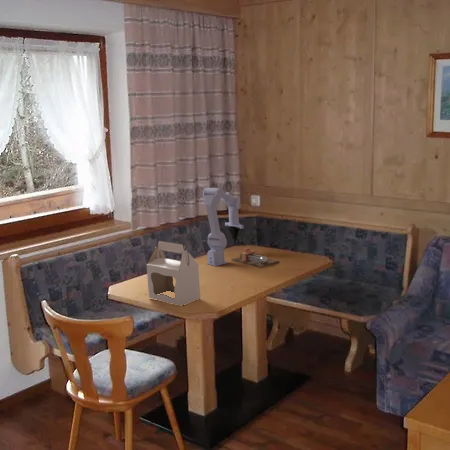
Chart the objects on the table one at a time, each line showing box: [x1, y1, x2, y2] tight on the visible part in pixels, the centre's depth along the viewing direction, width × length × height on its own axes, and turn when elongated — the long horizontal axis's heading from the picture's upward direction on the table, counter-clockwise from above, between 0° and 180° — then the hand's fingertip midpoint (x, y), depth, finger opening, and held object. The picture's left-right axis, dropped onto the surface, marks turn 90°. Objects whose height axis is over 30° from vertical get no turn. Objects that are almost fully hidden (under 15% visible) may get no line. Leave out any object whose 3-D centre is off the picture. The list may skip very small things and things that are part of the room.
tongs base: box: [240, 253, 268, 264], centre depth 369 cm, size 19×4×4 cm, turn 40°
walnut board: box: [231, 255, 280, 269], centre depth 372 cm, size 25×14×1 cm, turn 40°
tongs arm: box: [248, 253, 263, 257], centre depth 371 cm, size 14×2×3 cm, turn 41°
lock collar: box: [240, 246, 256, 261], centre depth 373 cm, size 3×8×6 cm, turn 130°
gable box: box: [146, 240, 201, 305], centre depth 309 cm, size 22×13×28 cm, turn 50°
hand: (234, 239), depth 389 cm, fingers closed
